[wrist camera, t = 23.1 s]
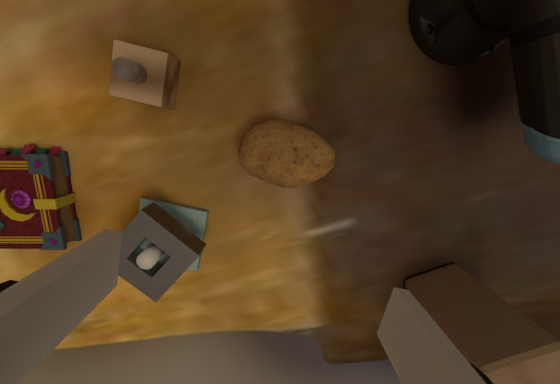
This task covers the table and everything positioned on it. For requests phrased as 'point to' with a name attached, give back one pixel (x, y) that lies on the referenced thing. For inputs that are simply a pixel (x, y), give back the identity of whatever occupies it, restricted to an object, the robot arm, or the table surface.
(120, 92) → the stand
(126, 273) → the grey square frame
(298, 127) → the potato
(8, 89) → the table surface
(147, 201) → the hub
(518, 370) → the wooden block
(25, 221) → the decorative book
